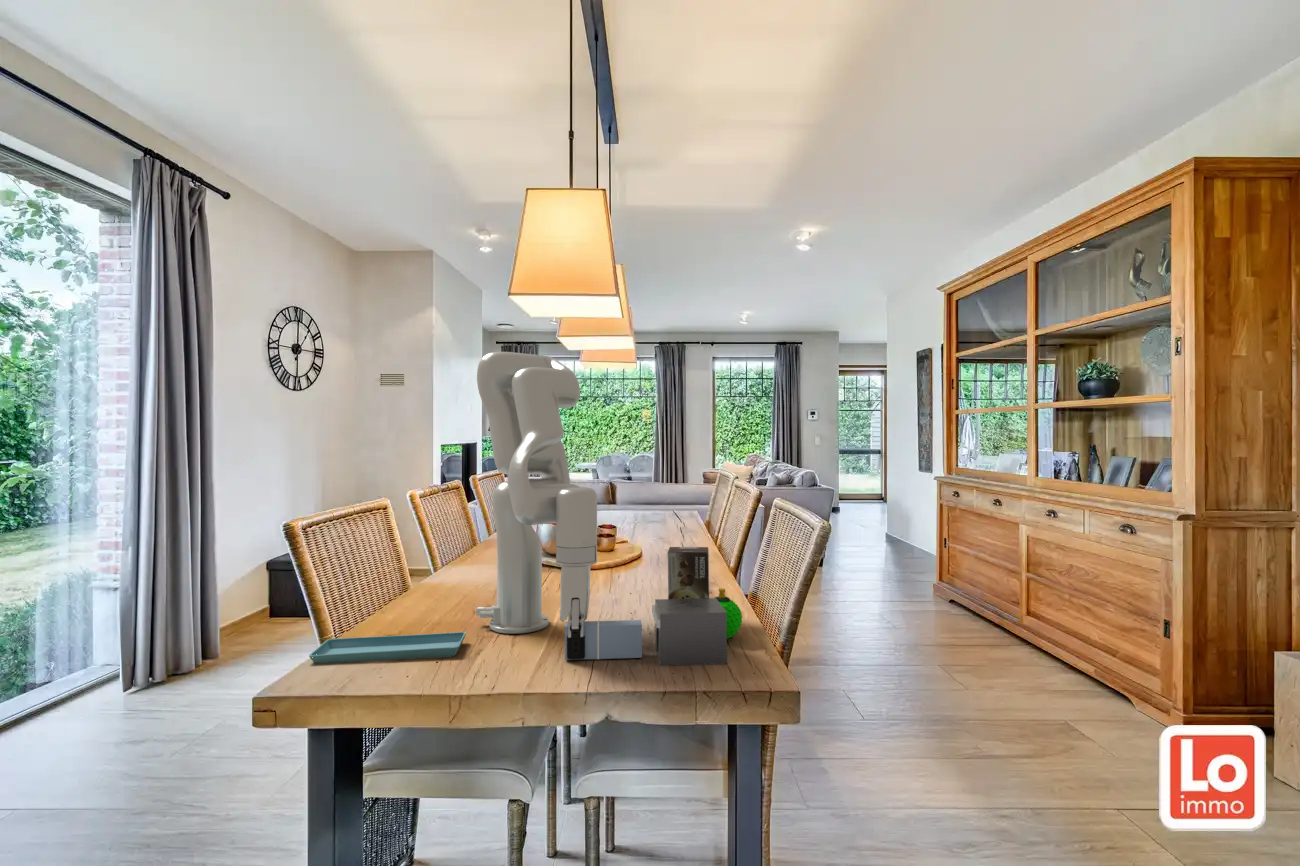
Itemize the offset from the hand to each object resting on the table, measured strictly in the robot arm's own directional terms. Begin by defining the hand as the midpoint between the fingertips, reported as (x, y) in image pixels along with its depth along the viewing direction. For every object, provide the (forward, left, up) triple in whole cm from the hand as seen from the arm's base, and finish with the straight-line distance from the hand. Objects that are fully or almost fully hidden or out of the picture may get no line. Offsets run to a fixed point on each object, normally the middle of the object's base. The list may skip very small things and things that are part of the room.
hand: (576, 653), depth 112 cm
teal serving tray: (-35, +6, -2) cm, 35 cm away
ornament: (+29, +9, -1) cm, 30 cm away
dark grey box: (+21, 0, -1) cm, 21 cm away
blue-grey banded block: (+5, 0, -1) cm, 5 cm away
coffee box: (+24, +21, -1) cm, 32 cm away
